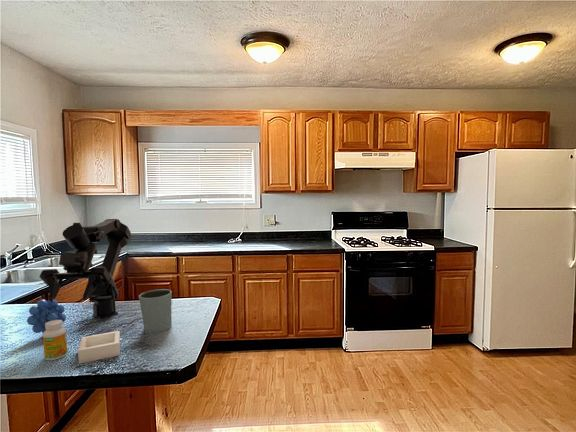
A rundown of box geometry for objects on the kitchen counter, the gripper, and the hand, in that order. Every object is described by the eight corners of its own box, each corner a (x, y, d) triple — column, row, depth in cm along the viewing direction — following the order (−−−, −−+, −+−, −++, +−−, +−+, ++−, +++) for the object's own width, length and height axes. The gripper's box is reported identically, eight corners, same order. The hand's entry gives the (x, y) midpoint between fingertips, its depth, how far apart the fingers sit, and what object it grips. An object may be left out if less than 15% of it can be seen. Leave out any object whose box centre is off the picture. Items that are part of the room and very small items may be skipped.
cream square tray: (82, 348, 100) (82, 337, 99) (120, 341, 104) (119, 330, 104) (78, 363, 91) (78, 350, 91) (119, 355, 95) (119, 342, 95)
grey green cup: (179, 327, 114) (177, 292, 113) (149, 337, 106) (147, 299, 106) (164, 320, 121) (162, 287, 120) (135, 329, 113) (133, 294, 113)
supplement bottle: (42, 362, 92) (40, 327, 91) (46, 354, 97) (43, 321, 96) (66, 357, 94) (64, 323, 94) (68, 350, 99) (66, 317, 99)
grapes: (37, 344, 104) (34, 305, 103) (24, 340, 107) (21, 303, 106) (74, 329, 115) (72, 294, 114) (61, 327, 117) (59, 292, 116)
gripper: (40, 244, 106) (19, 289, 95) (104, 241, 108) (90, 285, 98) (56, 264, 114) (39, 307, 104) (115, 261, 116) (103, 303, 106)
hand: (67, 300), depth 102 cm, fingers open, 9 cm apart
